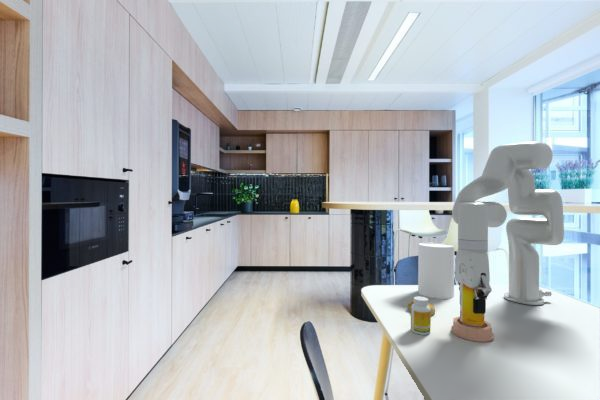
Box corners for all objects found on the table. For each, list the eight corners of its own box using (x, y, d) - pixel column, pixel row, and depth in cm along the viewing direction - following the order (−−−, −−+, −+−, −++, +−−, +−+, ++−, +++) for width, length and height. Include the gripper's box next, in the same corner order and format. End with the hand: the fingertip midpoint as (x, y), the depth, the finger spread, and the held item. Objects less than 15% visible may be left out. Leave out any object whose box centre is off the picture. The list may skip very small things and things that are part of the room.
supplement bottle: (407, 328, 93) (407, 296, 93) (422, 326, 94) (423, 294, 94) (418, 336, 88) (418, 301, 88) (434, 334, 89) (434, 300, 89)
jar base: (478, 326, 95) (479, 315, 95) (502, 342, 84) (502, 330, 84) (444, 326, 95) (444, 315, 95) (464, 342, 84) (464, 330, 84)
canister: (443, 288, 136) (443, 242, 136) (461, 298, 122) (461, 247, 122) (412, 289, 135) (413, 242, 135) (427, 298, 122) (427, 247, 122)
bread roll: (415, 317, 103) (415, 305, 103) (405, 308, 111) (405, 296, 112) (440, 317, 103) (440, 305, 103) (428, 307, 112) (428, 296, 112)
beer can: (487, 329, 86) (488, 274, 86) (463, 327, 87) (464, 273, 87) (479, 321, 92) (480, 270, 92) (457, 319, 93) (457, 268, 93)
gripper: (444, 241, 98) (444, 299, 98) (477, 250, 81) (477, 320, 81) (468, 241, 98) (467, 299, 98) (506, 250, 81) (505, 320, 81)
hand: (472, 308), depth 90 cm, fingers closed on beer can, 6 cm apart
